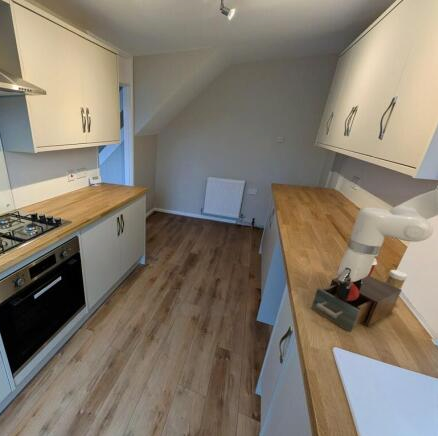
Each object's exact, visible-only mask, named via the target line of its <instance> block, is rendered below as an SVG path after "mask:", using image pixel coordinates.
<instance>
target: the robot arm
mask: <svg viewBox="0 0 438 436" xmlns="http://www.w3.org/2000/svg"><path fill="white" fill-rule="evenodd" d="M436 216H438V188H436V189H433V190H430V191H427V192H424V193H421V194H418V195H416V196H414V197H412V198H409V199H408V200H406V201H403V202H402V203H400V204H398V205H396V206H394V207H392V208H391V209H390V210H387V209H383V208H379V207H371V206H369V207H368V206H367V207H362V208H361V209H359V211H358V212H357V216H356V219H355V222H354V225H353V228H352V231H351V234H350V238H349V240H348V244H347V246H346V247H347V249H346V251H345V253H344V255H343V257H342V259H341V262H340V263H339V267H338V270H337V272H336V276H337V277H340V278H339V279H338V281H339V284H338V285H339V286H338V289H337V292H336V294H337V295H338V296H340V297H342V298H344V299H347V298H348V296H349V293H350V290H351V289H349V288H350V287H351V285H352V283H353V284H354V285H355V286H356V287H357V288H358V290H359V291H360V288H361V286H362V283H363V281H364V278H365V277H366V276H368V274H369V273H370V270H371V268H372V265H373V262H374V258H375V259H376V257H377V256H379V253H380V251H381V248H382V245H383V243H384V241H385V238H386V237H390V238H393V239H397V240H400V241H404V242H410V243H417V242H422V241H426V240H427V239H429V238H431V236H432V235H433V233H434V227H433V225H432V223H431V222H430V221H429V219H432V218H434V217H436ZM347 277H350V278H351V279H348V278H347ZM345 280H347V281H349V283H348V284H347V283H346V282H345ZM360 283H361V284H360Z"/></svg>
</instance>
